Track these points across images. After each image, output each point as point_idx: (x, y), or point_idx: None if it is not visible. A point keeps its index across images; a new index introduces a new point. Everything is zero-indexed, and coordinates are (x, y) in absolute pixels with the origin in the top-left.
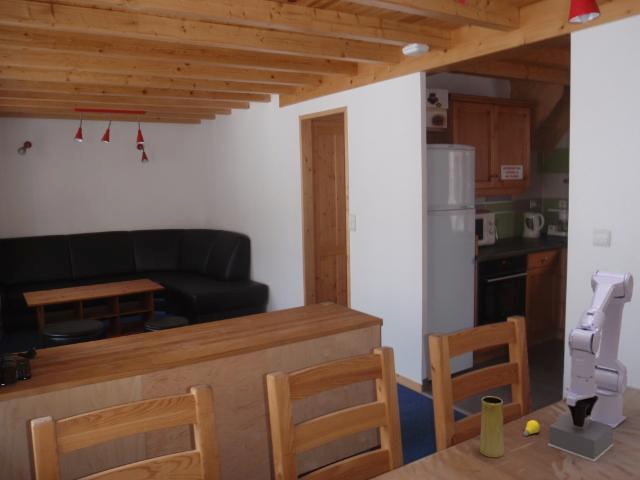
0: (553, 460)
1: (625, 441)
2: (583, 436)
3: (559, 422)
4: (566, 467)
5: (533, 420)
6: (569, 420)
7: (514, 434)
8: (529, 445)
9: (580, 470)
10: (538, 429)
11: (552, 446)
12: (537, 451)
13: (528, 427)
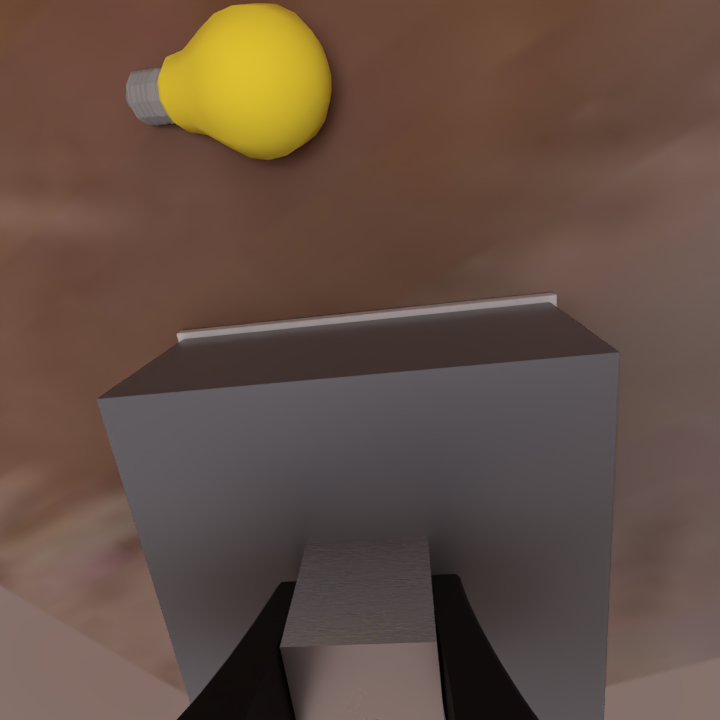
0: (43, 465)
1: (681, 624)
2: (194, 679)
3: (264, 421)
4: (50, 548)
5: (261, 60)
6: (406, 461)
7: (82, 10)
8: (51, 240)
9: (95, 605)
10: (267, 158)
11: None
12: (37, 334)
13: (172, 84)
